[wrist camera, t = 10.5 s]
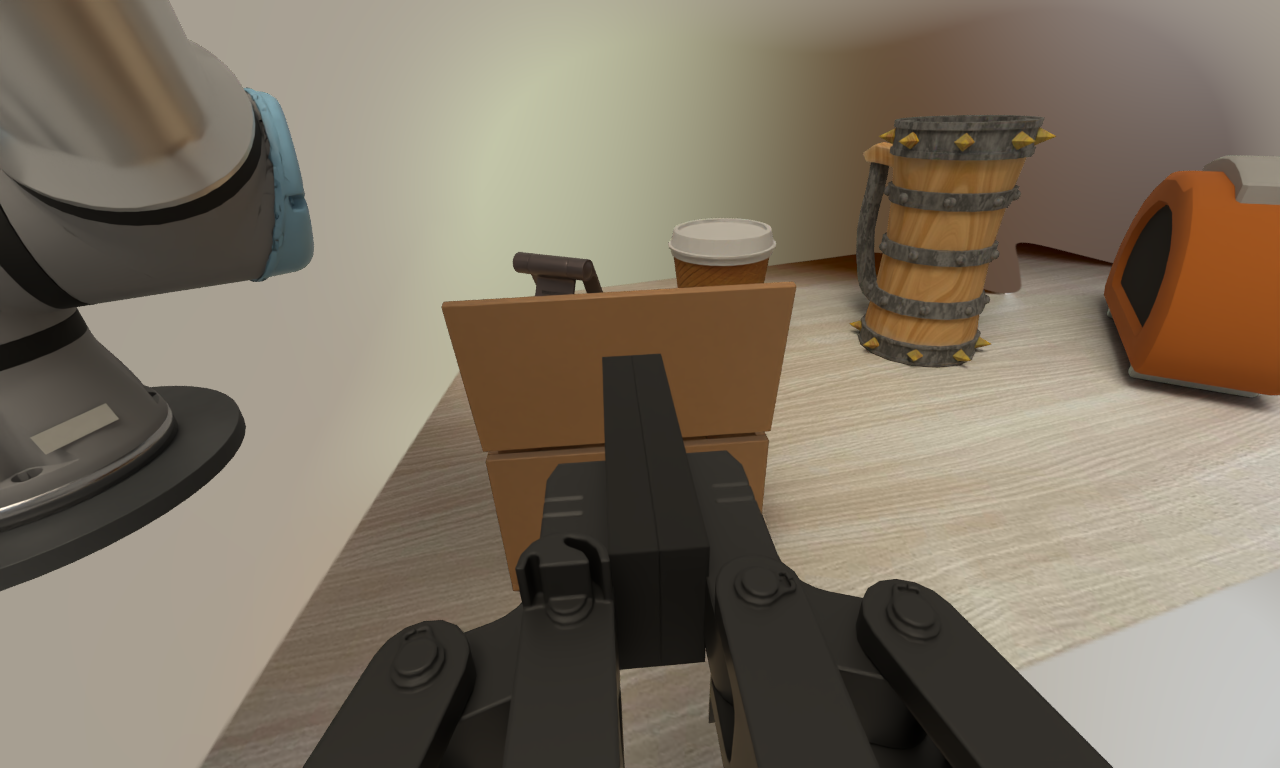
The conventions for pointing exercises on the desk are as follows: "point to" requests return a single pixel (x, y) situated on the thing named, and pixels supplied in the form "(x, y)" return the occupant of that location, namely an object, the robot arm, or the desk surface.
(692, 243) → the disposable coffee cup
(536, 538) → the carton
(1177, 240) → the alarm clock
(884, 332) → the mug
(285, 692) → the desk surface
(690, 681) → the desk surface
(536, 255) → the tablet stand
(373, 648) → the desk surface
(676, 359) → the flap
